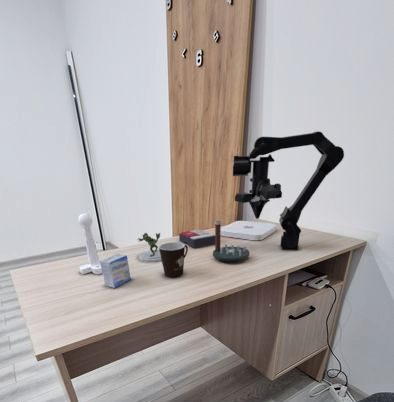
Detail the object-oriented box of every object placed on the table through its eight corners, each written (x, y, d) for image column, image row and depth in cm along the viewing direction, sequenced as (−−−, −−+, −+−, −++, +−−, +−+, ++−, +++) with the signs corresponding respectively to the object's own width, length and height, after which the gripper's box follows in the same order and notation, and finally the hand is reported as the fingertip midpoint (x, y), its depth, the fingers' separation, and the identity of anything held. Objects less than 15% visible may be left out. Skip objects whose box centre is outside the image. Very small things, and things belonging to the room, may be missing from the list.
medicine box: (114, 288, 95) (109, 262, 91) (104, 286, 98) (99, 260, 93) (131, 279, 101) (127, 255, 97) (121, 277, 103) (117, 253, 99)
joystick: (108, 264, 114) (98, 210, 104) (115, 270, 109) (105, 213, 99) (79, 271, 109) (65, 215, 99) (85, 278, 104) (70, 219, 93)
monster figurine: (132, 257, 120) (128, 232, 115) (155, 250, 128) (153, 225, 122) (151, 264, 113) (148, 237, 108) (174, 256, 120) (172, 230, 115)
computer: (260, 241, 133) (260, 235, 132) (217, 235, 144) (217, 230, 142) (277, 229, 149) (278, 224, 147) (237, 225, 159) (237, 220, 158)
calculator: (199, 228, 142) (215, 234, 130) (200, 237, 144) (216, 243, 132) (178, 232, 137) (193, 238, 126) (179, 241, 140) (194, 248, 128)
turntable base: (244, 254, 119) (244, 251, 119) (243, 263, 111) (243, 260, 110) (219, 253, 121) (219, 250, 120) (216, 262, 113) (216, 259, 112)
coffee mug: (167, 281, 99) (164, 252, 94) (158, 272, 106) (155, 245, 101) (198, 274, 103) (197, 245, 98) (187, 266, 110) (186, 239, 105)
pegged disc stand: (253, 251, 118) (256, 219, 112) (242, 263, 107) (244, 229, 101) (220, 247, 123) (221, 217, 117) (207, 258, 112) (206, 225, 106)
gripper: (252, 179, 102) (250, 225, 110) (294, 175, 109) (289, 219, 117) (234, 177, 111) (233, 220, 119) (274, 173, 118) (270, 214, 126)
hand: (257, 218), depth 120 cm, fingers closed
